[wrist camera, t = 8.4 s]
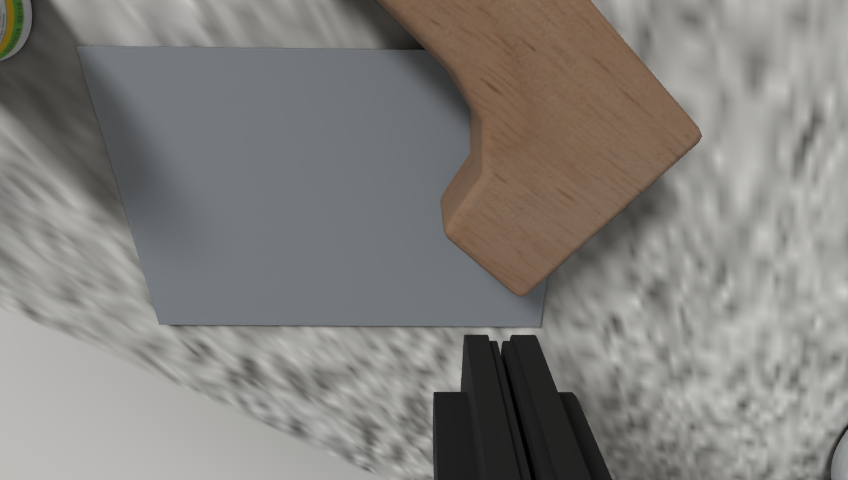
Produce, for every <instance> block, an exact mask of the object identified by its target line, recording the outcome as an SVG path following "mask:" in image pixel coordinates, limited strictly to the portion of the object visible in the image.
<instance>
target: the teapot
mask: <svg viewBox="0 0 848 480" xmlns="http://www.w3.org/2000/svg"><path fill="white" fill-rule="evenodd" d="M831 480H848V430H847V431H846V433H845V434H844V436H843V437H842V439H841V440H840V442H839V444H838V446H837V448H836V450H835V453H834V455H833V460H832V465H831Z"/></svg>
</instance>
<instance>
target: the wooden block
mask: <svg viewBox="0 0 848 480" xmlns="http://www.w3.org/2000/svg"><path fill="white" fill-rule="evenodd" d="M376 1H377V2H378V3H379V4H380V5H381V6H382V7H383V8H384V9H385V10H386V11H387V12H388V13H389V14H390V15H391V16H392V17H393V18H394V19H395V20H396V21H397V22H398V23H399V24H400V25H401V26H403V27H404V28H405V29H406V30H407V31H408V32H409V33H410V34H411V35H412V36H413V37H414V38H415V39H416V40H417V41H418V42H419V43H420V44H421V45H422V46H423V47H424V48H425V49H426V50H427V51H428V52H429V53H430V54H431V55H432V56H433V57H434V58H435V59H436V60H437V61H438V62H439V63H440V64H441V65H442V66H443V67H444V68H445V69H446V70H447V71H448V73H449V75H450V76H451V78H452V80H453V82H454V83H455V85H456V87H457V88H458V90H459V92H460V94H461V95H462V97H463V99H464V100H465V102H466V104H467V105H468V107H469V109H470V154H469V155H468V157H467V158H466V160H465V161H464V163H463V164H462V166H461V167H460V169H459V170H458V172H457V173H456V175H455V176H454V178H453V179H452V181H451V182H450V184H449V185H448V187H447V188H446V190H445V191H444V193H443V194H442V196H441V201H440V205H441V213H442V221H443V229H444V233H445V235H446V237H447V238H448V239H449V240H450V241H451V242H453V243H454V244H455V245H456V246H457V247H458V248H460V249H461V250H462V251H463V252H464V253H466V254H467V255H468V256H469V257H470V258H471V259H473V260H474V261H475V262H476V263H477V264H479V265H480V266H481V267H482V268H483V269H485V270H486V271H487V272H488V273H489V274H490V275H492V276H493V277H494V278H495V279H496V280H498V281H499V282H500V283H501V284H502V285H503V286H505V287H506V288H507V289H508V290H509V291H511V292H512V293H513V294H515V295H517V296H520V297H523V296H525V295H527V294H528V293H529V292H531V291H532V290H533V289H534V288H535V287H536V286H537V285H538V284H540V283H541V282H542V281H543V280H544V279H545V278H546V277H547V276H549V275H550V274H551V273H552V272H553V271H554V270H555V269H556V268H558V267H559V266H560V265H561V264H562V263H563V262H564V261H565V260H567V259H568V258H569V257H570V256H571V255H572V254H573V253H575V252H576V251H577V250H578V249H579V248H580V247H581V246H582V245H584V244H585V243H586V242H587V241H588V240H589V239H590V238H591V237H593V236H594V235H595V234H596V233H597V232H598V231H599V230H600V229H602V228H603V227H604V226H605V225H606V224H607V223H608V222H609V221H611V220H612V219H613V218H614V217H615V216H616V215H617V214H618V213H620V212H621V211H622V210H623V209H624V208H625V207H626V206H627V205H629V204H630V203H631V202H632V201H633V200H634V199H635V198H636V197H638V196H639V195H640V194H641V193H642V192H643V191H644V190H645V189H647V188H648V187H649V186H650V185H651V184H652V183H653V182H655V181H656V180H657V179H658V178H659V177H660V176H661V175H662V174H664V173H665V172H666V171H667V170H668V169H669V168H670V167H671V166H673V165H674V164H675V163H676V162H677V161H678V160H679V159H680V158H682V157H683V156H684V155H685V154H686V153H687V152H688V151H689V150H691V149H692V148H693V147H694V146H695V145H696V144H697V143H698V142H699V141H700V139H701V137H702V135H701V132H700V130H699V128H698V126H697V125H696V124H695V123H694V122H693V120H692V119H691V118H690V117H689V116H688V115H687V113H686V112H685V111H684V110H683V109H682V108H681V106H680V105H679V104H678V103H677V102H676V101H675V99H674V98H673V97H672V96H671V95H670V94H669V92H668V91H667V90H666V89H665V88H664V87H663V85H662V84H661V83H660V82H659V81H658V80H657V78H656V77H655V76H654V75H653V74H652V72H651V71H650V70H649V69H648V68H647V67H646V65H645V64H644V63H643V62H642V61H641V60H640V58H639V57H638V56H637V55H636V54H635V53H634V51H633V50H632V49H631V48H630V47H629V46H628V44H627V43H626V42H625V41H624V40H623V38H622V37H621V36H620V35H619V34H618V33H617V31H616V30H615V29H614V28H613V27H612V25H611V24H610V23H609V22H608V21H607V19H606V18H605V17H604V16H603V15H602V14H601V12H600V11H599V10H598V9H597V8H596V6H595V5H594V4H593V3H592V2H591V0H376Z"/></svg>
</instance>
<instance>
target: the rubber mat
mask: <svg viewBox="0 0 848 480" xmlns="http://www.w3.org/2000/svg"><path fill="white" fill-rule="evenodd" d="M75 47H76V50H77V53H78V57H79V60H80V63H81V67H82V70H83V73H84V77H85V80H86V83H87V87H88V90H89V93H90V97H91V100H92V103H93V106H94V110H95V113H96V116H97V120H98V123H99V126H100V130H101V133H102V136H103V140H104V143H105V146H106V150H107V153H108V156H109V160H110V163H111V166H112V170H113V173H114V176H115V179H116V183H117V186H118V189H119V193H120V196H121V199H122V203H123V206H124V209H125V213H126V216H127V219H128V223H129V226H130V229H131V233H132V236H133V239H134V242H135V246H136V249H137V252H138V256H139V259H140V262H141V266H142V269H143V272H144V276H145V279H146V282H147V286H148V289H149V292H150V296H151V299H152V302H153V305H154V309H155V312H156V315H157V319H158V322H159V325H320V326H497V327H540V325H541V318H542V311H543V305H544V298H545V291H546V285H547V278H548V276H547V277H546V278H545V279H544V280H543V281H542V282H541V283H540V284H538V285H537V286H536V287H535V288H534V289H533V290H532V291H531V292H529V293H528V294H527V295H525V296H523V297H520V296H517V295H515V294H513V293H512V292H511V291H509V290H508V289H507V288H506V287H505V286H503V285H502V284H501V283H500V282H499V281H498V280H496V279H495V278H494V277H493V276H492V275H490V274H489V273H488V272H487V271H486V270H485V269H483V268H482V267H481V266H480V265H479V264H477V263H476V262H475V261H474V260H473V259H471V258H470V257H469V256H468V255H467V254H466V253H464V252H463V251H462V250H461V249H460V248H458V247H457V246H456V245H455V244H454V243H453V242H451V241H450V240H449V239H448V238H447V237H446V235H445V233H444V229H443V221H442V213H441V205H440V201H441V196H442V194H443V193H444V191H445V190H446V188H447V187H448V185H449V184H450V182H451V181H452V179H453V178H454V176H455V175H456V173H457V172H458V170H459V169H460V167H461V166H462V164H463V163H464V161H465V160H466V158H467V157H468V155H469V154H470V109H469V107H468V105H467V104H466V102H465V100H464V99H463V97H462V95H461V94H460V92H459V90H458V88H457V87H456V85H455V83H454V82H453V80H452V78H451V76H450V75H449V73H448V71H447V70H446V69H445V68H444V67H443V66H442V65H441V64H440V63H439V62H438V61H437V60H436V59H435V58H434V57H433V56H432V55H431V54H430V53H429V52H428V51H427V50H404V49H314V48H225V47H135V46H75Z"/></svg>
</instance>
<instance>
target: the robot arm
mask: <svg viewBox="0 0 848 480" xmlns="http://www.w3.org/2000/svg"><path fill="white" fill-rule="evenodd" d="M433 463H434V480H612V478H611V476H610V473H609V471H608V469H607V466H606V464H605V462H604V459H603V457H602V455H601V452H600V450H599V448H598V446H597V443H596V441H595V439H594V436H593V434H592V432H591V429H590V427H589V425H588V422H587V420H586V418H585V415H584V413H583V411H582V408H581V406H580V404H579V401H578V399H577V398H576V396H575V395H574V394H573V393H572V392H558V391H557V389H556V386H555V383H554V381H553V378H552V376H551V373H550V370H549V368H548V365H547V363H546V360H545V357H544V355H543V352H542V350H541V347H540V344H539V342H538V339H537V337H536V336H535V335H511V337H510V341H503V343H502V349H501V355H500V351H499V347H498V343H497V341H489V337H488V335H464V344H463V361H462V378H461V392H434V398H433Z"/></svg>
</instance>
